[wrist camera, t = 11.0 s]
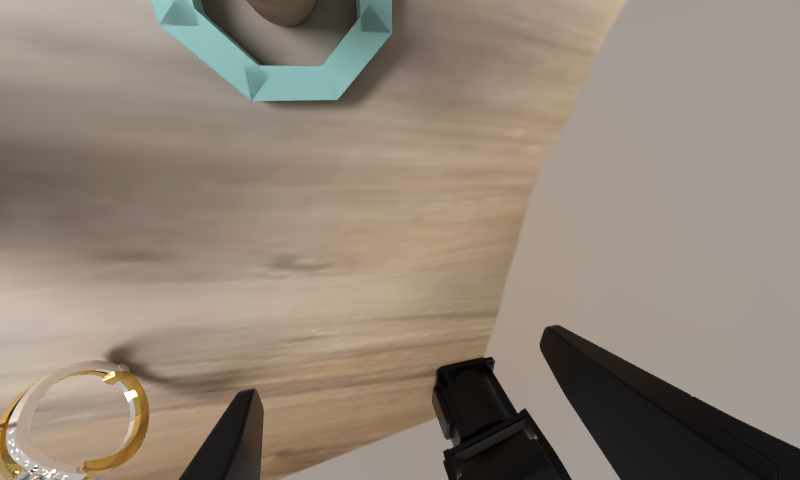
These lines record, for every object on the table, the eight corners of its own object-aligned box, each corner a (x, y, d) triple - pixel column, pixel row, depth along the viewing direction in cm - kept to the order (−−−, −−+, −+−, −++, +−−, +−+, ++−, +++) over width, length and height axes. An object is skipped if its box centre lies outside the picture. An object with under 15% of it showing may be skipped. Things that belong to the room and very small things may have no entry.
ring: (177, 382, 23) (122, 508, 17) (140, 400, 23) (69, 534, 17) (97, 329, 20) (-16, 463, 13) (53, 350, 20) (-85, 496, 13)
